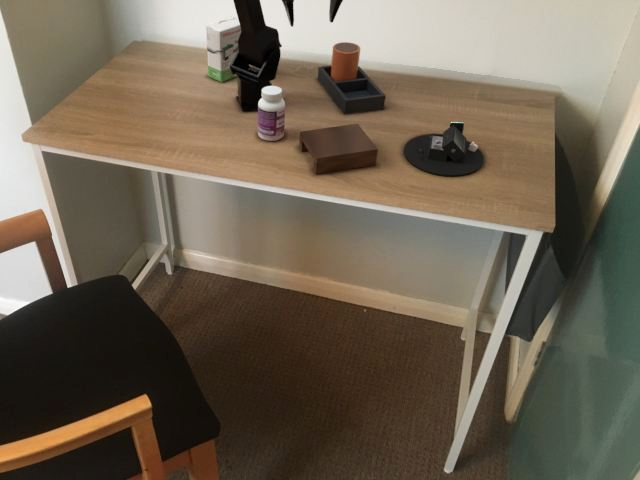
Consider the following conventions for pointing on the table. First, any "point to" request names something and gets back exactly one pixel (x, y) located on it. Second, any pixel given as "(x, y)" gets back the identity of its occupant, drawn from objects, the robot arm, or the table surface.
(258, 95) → the robot arm
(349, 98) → the tray
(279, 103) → the pill bottle
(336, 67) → the cup
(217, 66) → the ink box
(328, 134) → the brown wooden riser
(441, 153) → the black round base
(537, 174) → the table surface
